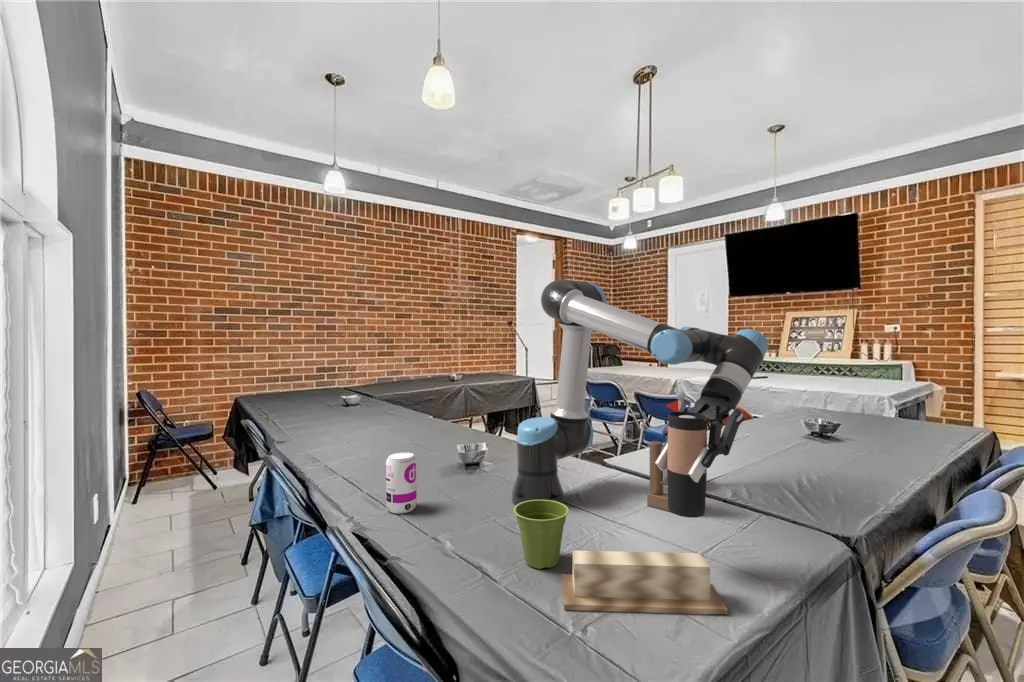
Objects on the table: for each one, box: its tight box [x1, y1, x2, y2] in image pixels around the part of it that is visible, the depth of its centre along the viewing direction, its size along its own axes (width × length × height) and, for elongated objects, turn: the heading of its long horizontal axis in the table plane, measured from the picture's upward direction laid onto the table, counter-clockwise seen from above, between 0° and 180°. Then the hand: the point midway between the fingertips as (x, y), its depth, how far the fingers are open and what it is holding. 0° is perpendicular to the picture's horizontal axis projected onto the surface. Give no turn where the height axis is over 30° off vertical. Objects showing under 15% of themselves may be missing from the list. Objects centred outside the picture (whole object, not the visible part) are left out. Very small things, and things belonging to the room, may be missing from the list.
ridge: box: [561, 549, 728, 616], centre depth 83 cm, size 28×10×7 cm, turn 86°
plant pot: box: [512, 500, 570, 570], centre depth 96 cm, size 12×12×11 cm
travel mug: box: [667, 411, 708, 518], centre depth 93 cm, size 8×8×20 cm
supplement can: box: [385, 451, 418, 515], centre depth 126 cm, size 8×8×15 cm
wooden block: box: [646, 440, 671, 513], centre depth 124 cm, size 4×11×18 cm, turn 47°
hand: (675, 472), depth 91 cm, fingers closed on travel mug, 7 cm apart
